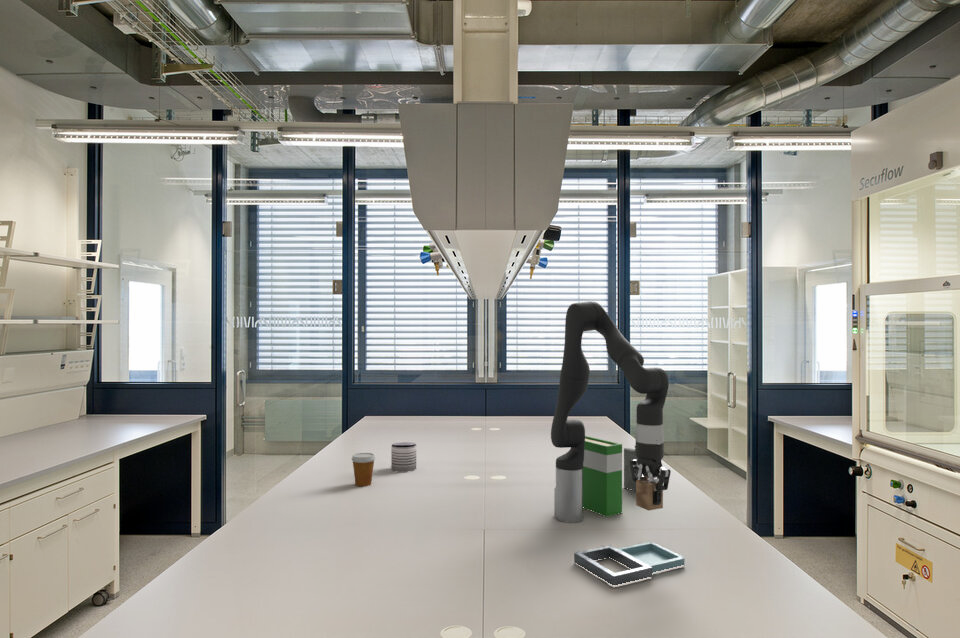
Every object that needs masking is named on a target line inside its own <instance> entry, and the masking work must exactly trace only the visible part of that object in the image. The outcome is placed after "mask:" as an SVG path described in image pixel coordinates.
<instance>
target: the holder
mask: <svg viewBox="0 0 960 638" xmlns="http://www.w3.org/2000/svg"><path fill="white" fill-rule="evenodd" d="M573 555H574V559H573V560H574V561H573V563H574V562H575V563H577V564H578V565H580V566H582V567H584V568H585V569H587V570H588V571H590V572H592V573H593V574H595V575H597V576H598V577H600V578H602V579H604V580H605V581H607V582H608V583H610V584H612V585H618V584H622V583H626V582H630V581H635V580H639V579H643V578H647V577H651V576H652V577H653V575H652V567H650V566H649V565H647V564H645V563H643V562H641V561H639V560H637V559H635V558H634V557H632V556H630V555H628V554H626V553H624V552H622V551H620V550H619V549H617V548H616V547H614V546H613V545H610V544H609V545H606V546H599V547H595V548H590V549H585V550H581V551H575V552H574V554H573ZM609 557H610V558H612V559H614V560H616V561H618V562H620V563H622V564H624V565H626V566H627V567H629V568H631V569H630V570H629V569H627V570H626V569H625V570H623V571H618V572H614V571H612V570H610V569H608V568H607V567H605V566H603V565H602V564H600V563H599V562H598V561H593V560H598V559H604V558H609ZM610 558H609V559H610ZM612 559H611V560H612Z"/></svg>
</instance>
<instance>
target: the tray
mask: <svg viewBox="0 0 960 638" xmlns="http://www.w3.org/2000/svg"><path fill="white" fill-rule="evenodd" d="M617 549H619V550H620V551H622V552H624V553H626V554H628V555H630V556H632V557H634V558H635V559H637V560H639V561H641V562H643V563H645V564H647V565H649V566H650V567H652V573H653V572H656V571H661V570H664V569H669V568H673V567H677V566H681V565H684V566H685V557H683V555H681V554H680V553H676V552H674V551H673V550H670V549H668V548H666V547H664V546H663V545H659V544H657V543H656V542H651V541H646V542H642V543H641V542H640V543H638V544H633V545H628V546H622V547H618V548H617Z"/></svg>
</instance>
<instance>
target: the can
mask: <svg viewBox="0 0 960 638" xmlns="http://www.w3.org/2000/svg"><path fill="white" fill-rule="evenodd" d="M390 448H391V465H390V466H391V471H392V470H393V471H392V472H395V471H397V472H396V473H409V472H408V471H411V472H414V471H416V470H417V443H415V442H406V441H405V442H394V443H391V447H390ZM415 469H416V470H415Z"/></svg>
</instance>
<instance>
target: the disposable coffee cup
mask: <svg viewBox="0 0 960 638" xmlns="http://www.w3.org/2000/svg"><path fill="white" fill-rule="evenodd" d="M375 460H376V456H375V454H374V453H373V452H358V453H354V454H353V455H352V457H351V461H352V467H353V474H354V475H353V476H354V483H355V484H354V485H355V486H356V485H357V486H356V487H369V486H371V485H372V481H373V472H374V467H375V466H374V464H375ZM368 485H369V486H368Z"/></svg>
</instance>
